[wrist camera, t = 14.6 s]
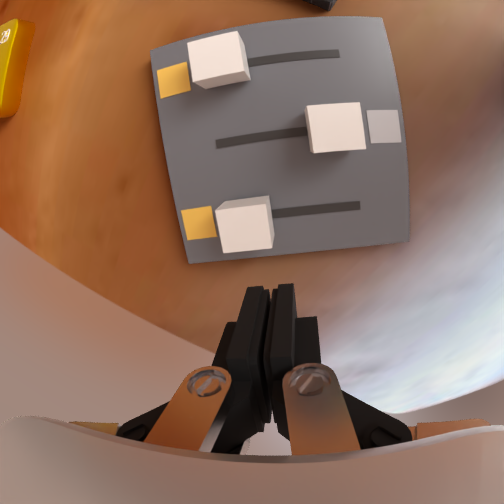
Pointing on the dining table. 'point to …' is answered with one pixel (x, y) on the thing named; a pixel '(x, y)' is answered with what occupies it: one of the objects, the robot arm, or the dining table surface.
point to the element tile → (13, 63)
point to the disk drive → (323, 3)
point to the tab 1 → (218, 60)
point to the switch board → (287, 138)
